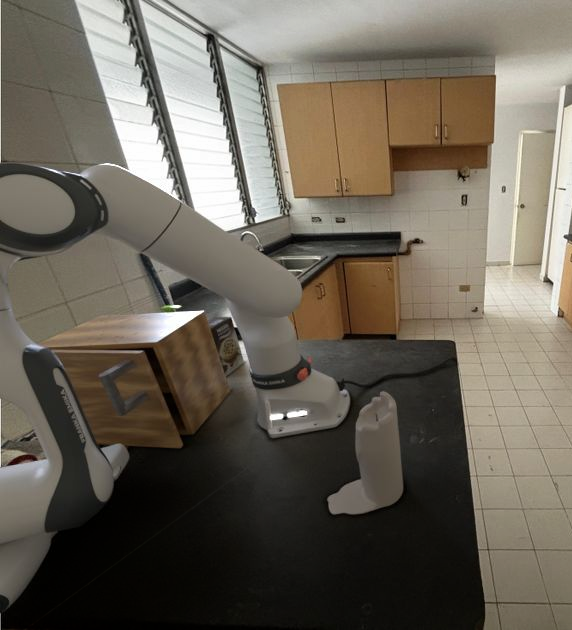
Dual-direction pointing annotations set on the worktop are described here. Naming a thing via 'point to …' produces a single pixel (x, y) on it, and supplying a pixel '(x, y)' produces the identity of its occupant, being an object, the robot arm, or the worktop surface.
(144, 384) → the cupboard door
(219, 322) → the coffee box
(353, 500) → the white l-shaped piece
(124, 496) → the worktop surface
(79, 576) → the worktop surface
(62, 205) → the robot arm
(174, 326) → the cupboard
